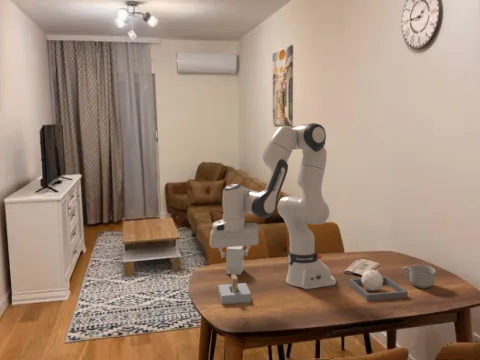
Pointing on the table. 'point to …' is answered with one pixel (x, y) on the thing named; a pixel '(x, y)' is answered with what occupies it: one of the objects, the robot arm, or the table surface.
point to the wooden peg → (234, 283)
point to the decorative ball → (372, 280)
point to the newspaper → (361, 266)
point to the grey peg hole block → (234, 294)
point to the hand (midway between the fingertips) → (234, 256)
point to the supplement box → (235, 260)
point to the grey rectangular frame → (379, 296)
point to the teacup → (420, 275)
